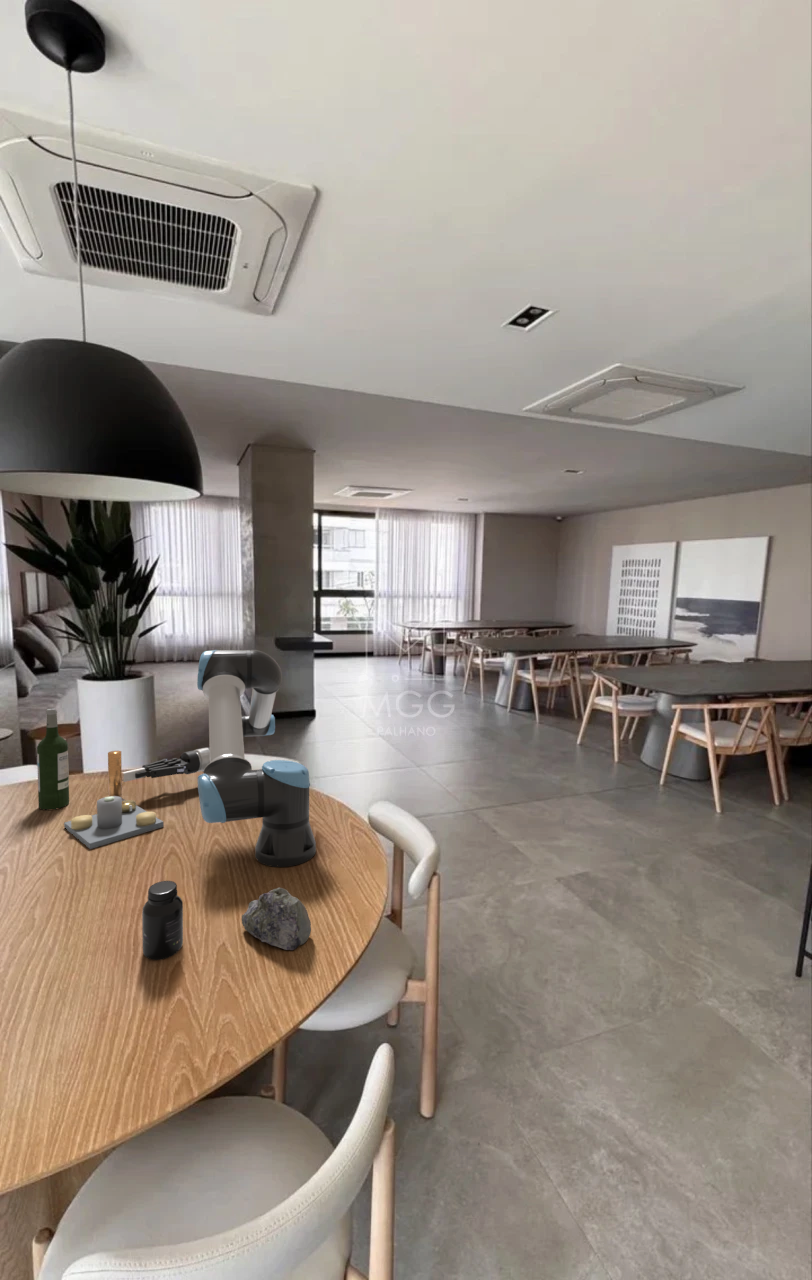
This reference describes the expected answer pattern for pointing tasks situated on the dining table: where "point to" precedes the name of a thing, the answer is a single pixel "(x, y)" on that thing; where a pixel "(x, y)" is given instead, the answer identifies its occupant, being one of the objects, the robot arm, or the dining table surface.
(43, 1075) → the dining table surface
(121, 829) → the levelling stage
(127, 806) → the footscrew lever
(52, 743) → the wine bottle
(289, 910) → the mineral rock
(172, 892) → the supplement bottle
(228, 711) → the robot arm
